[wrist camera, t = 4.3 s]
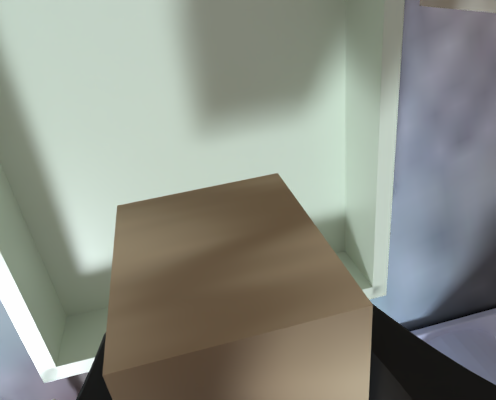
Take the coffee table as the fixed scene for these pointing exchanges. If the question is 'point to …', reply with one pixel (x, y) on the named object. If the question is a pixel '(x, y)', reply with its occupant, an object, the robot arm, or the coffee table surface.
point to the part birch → (462, 4)
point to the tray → (182, 136)
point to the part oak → (232, 301)
